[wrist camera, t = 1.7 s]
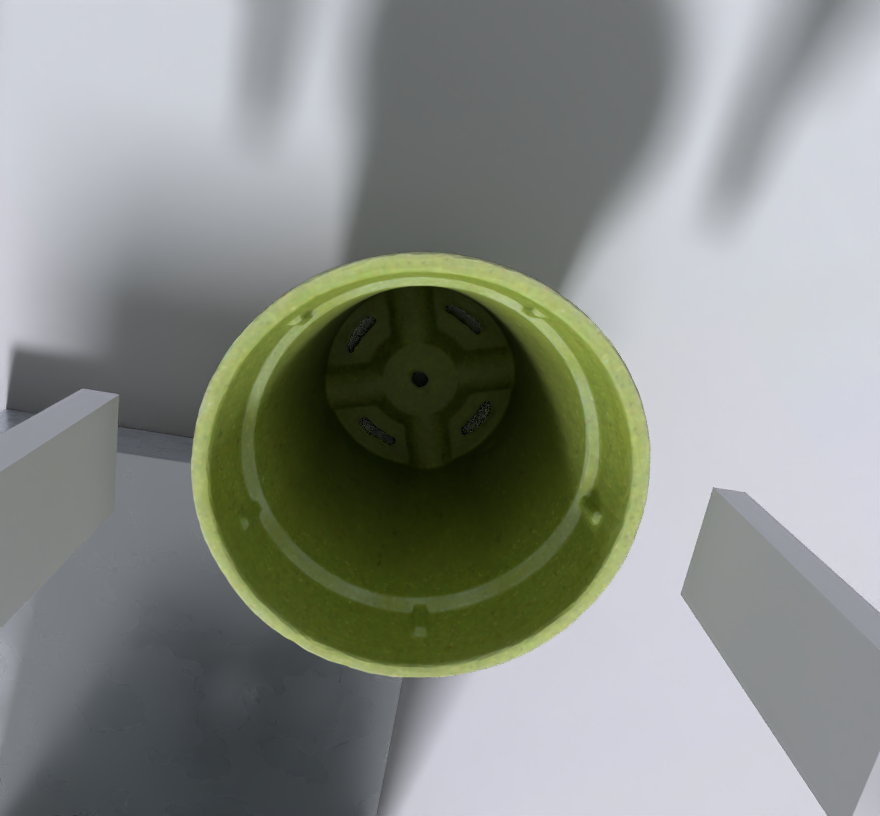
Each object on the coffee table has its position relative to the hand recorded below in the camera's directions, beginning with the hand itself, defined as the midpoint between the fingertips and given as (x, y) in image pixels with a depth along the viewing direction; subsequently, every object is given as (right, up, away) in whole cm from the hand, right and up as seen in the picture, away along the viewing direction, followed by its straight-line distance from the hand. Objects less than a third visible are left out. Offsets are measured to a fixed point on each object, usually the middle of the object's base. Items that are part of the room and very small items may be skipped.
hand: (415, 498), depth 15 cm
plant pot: (0, +3, +7) cm, 8 cm away
